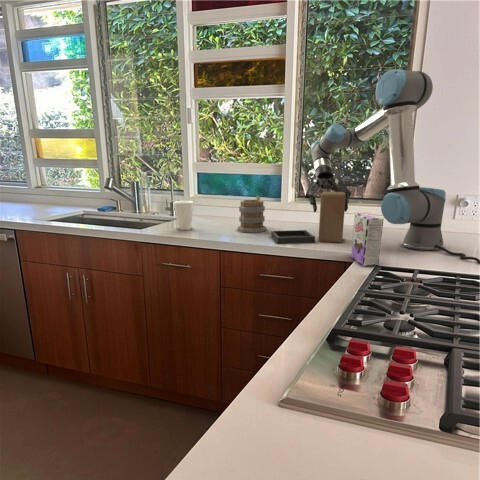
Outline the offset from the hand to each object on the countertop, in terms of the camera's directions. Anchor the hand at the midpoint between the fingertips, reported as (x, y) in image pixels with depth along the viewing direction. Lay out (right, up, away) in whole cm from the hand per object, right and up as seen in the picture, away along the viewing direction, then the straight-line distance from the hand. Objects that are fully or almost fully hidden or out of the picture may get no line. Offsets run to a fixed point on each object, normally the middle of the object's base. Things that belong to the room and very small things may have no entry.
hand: (331, 210), depth 198 cm
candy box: (+5, -26, -33) cm, 43 cm away
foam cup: (-67, -2, +32) cm, 74 cm away
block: (0, -13, +3) cm, 13 cm away
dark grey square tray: (-16, -12, +5) cm, 21 cm away
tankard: (-32, -2, +30) cm, 44 cm away
